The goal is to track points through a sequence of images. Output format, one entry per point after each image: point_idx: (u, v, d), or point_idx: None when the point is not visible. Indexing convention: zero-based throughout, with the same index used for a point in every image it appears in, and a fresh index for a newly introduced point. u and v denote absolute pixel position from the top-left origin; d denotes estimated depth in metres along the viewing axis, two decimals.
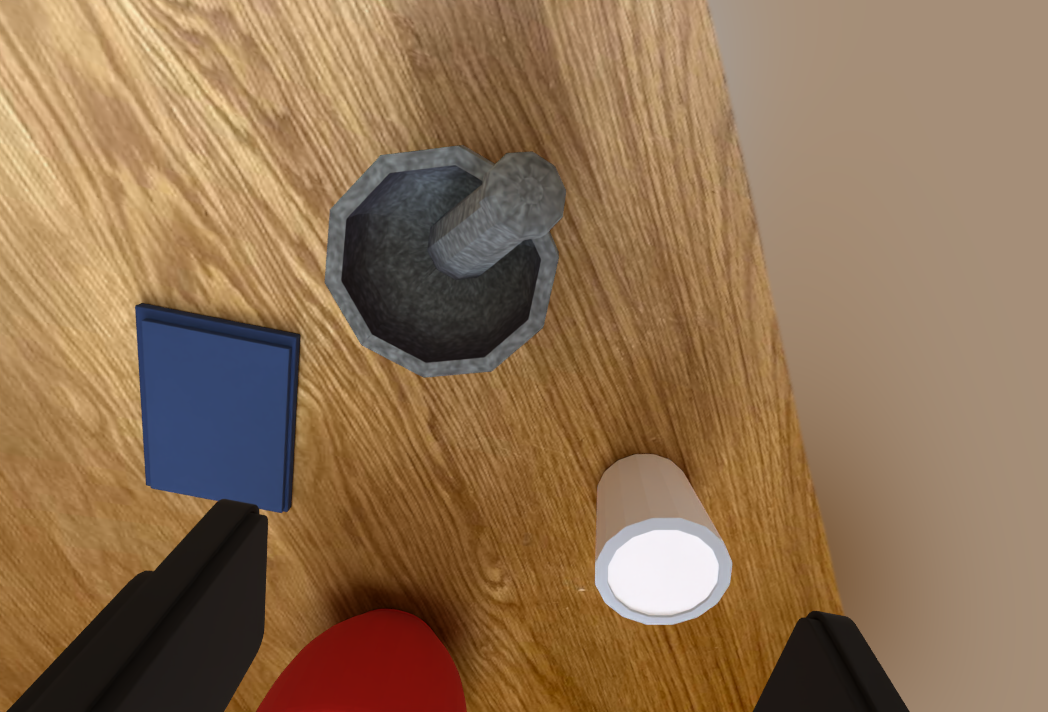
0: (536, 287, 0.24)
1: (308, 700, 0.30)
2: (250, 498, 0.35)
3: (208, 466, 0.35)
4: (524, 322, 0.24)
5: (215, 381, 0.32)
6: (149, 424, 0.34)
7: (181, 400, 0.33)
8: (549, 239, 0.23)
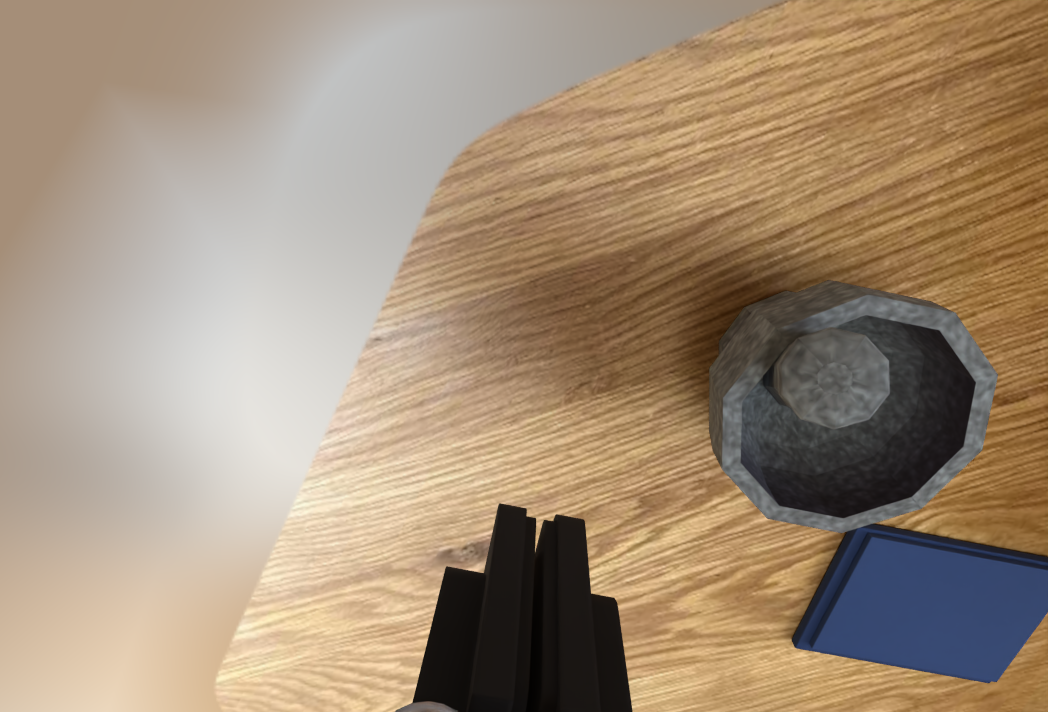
0: (899, 320, 0.19)
1: None
2: (1042, 600, 0.31)
3: (988, 629, 0.32)
4: (941, 334, 0.19)
5: (890, 605, 0.31)
6: (922, 666, 0.33)
7: (903, 636, 0.32)
8: (843, 305, 0.19)
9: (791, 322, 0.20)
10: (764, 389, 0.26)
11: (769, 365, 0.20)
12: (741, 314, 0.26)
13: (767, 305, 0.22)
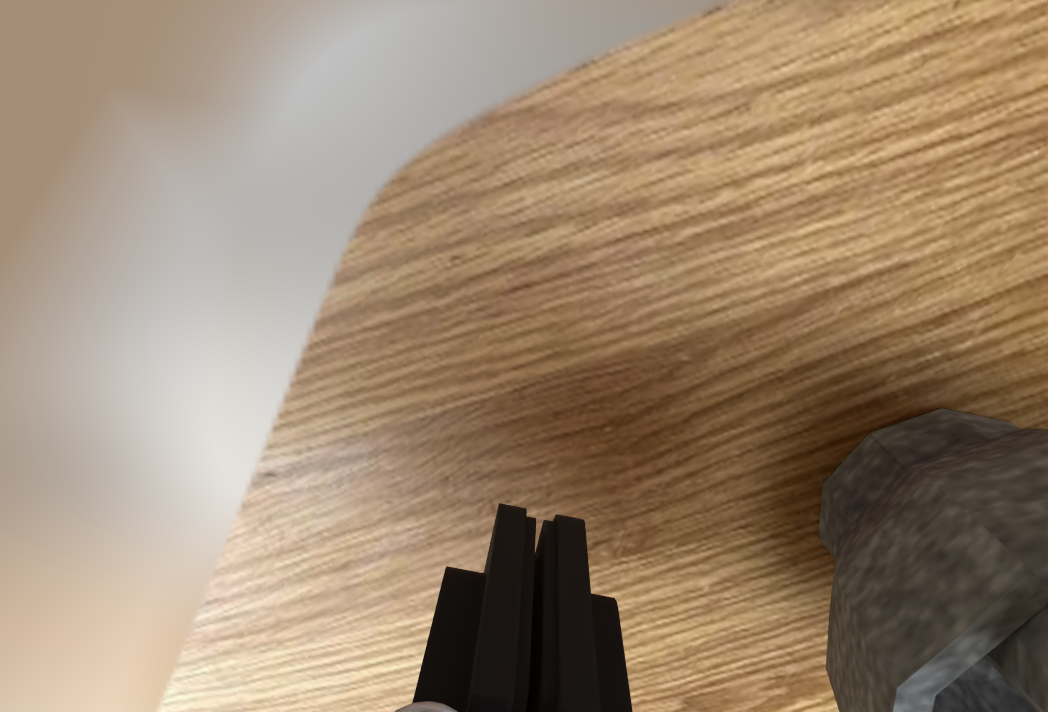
0: None
1: None
2: None
3: None
4: None
5: None
6: None
7: None
8: None
9: None
10: None
11: (1003, 635, 0.10)
12: (865, 445, 0.16)
13: (961, 476, 0.11)
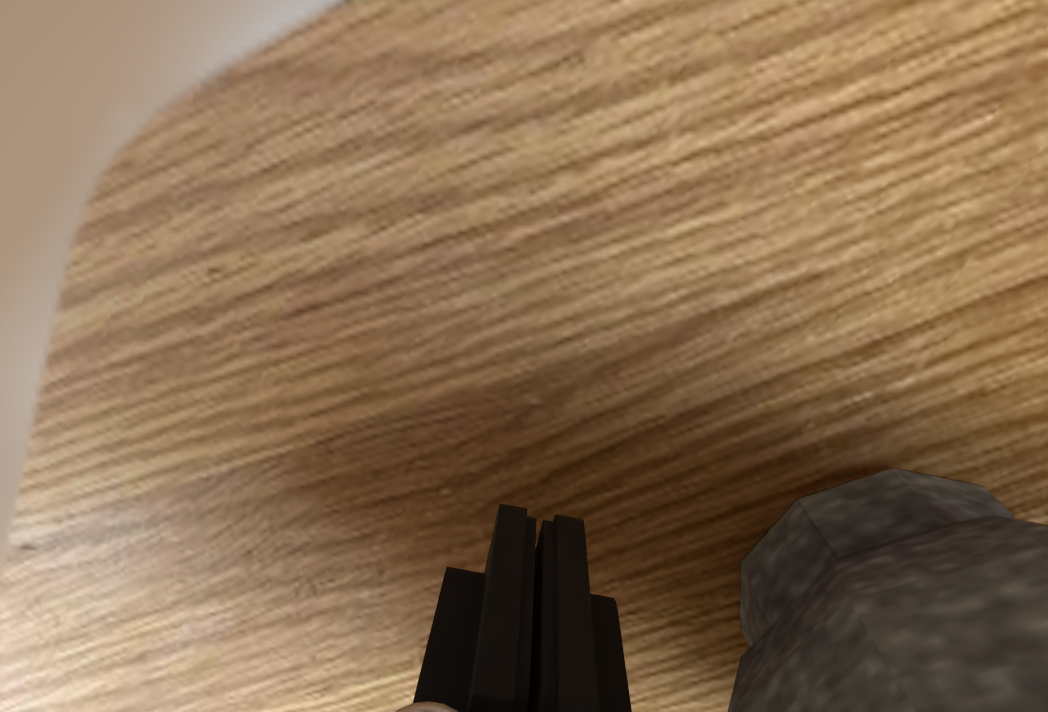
0: None
1: None
2: None
3: None
4: None
5: None
6: None
7: None
8: None
9: None
10: None
11: None
12: (792, 516, 0.12)
13: (893, 601, 0.08)
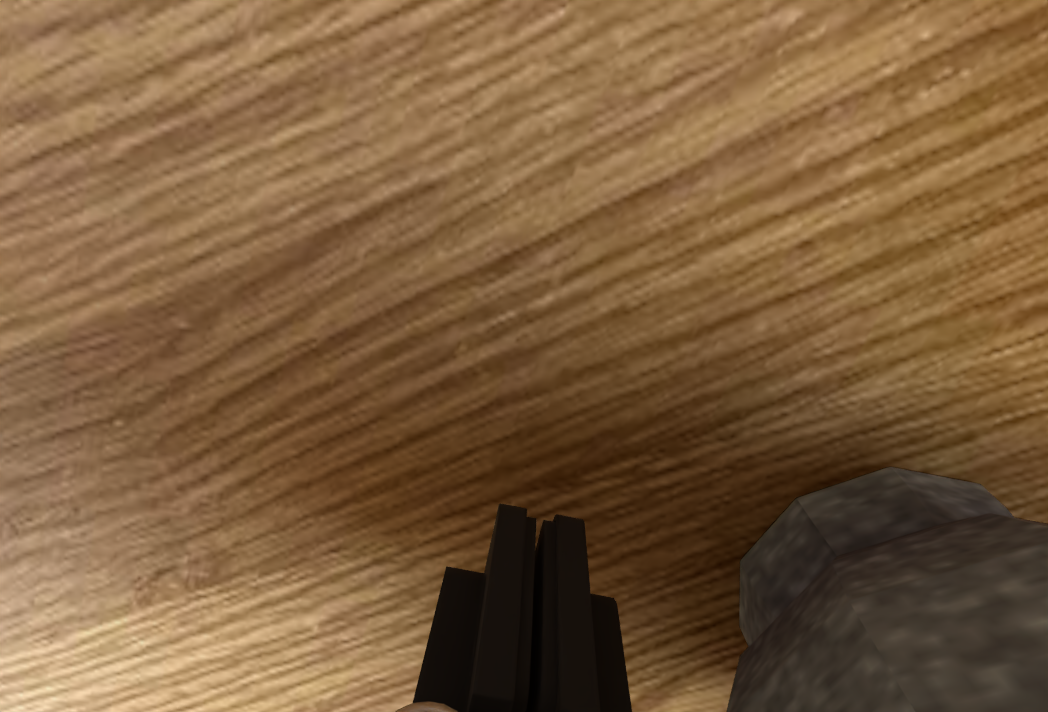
0: None
1: None
2: None
3: None
4: None
5: None
6: None
7: None
8: None
9: None
10: None
11: None
12: (790, 515, 0.12)
13: (891, 600, 0.08)
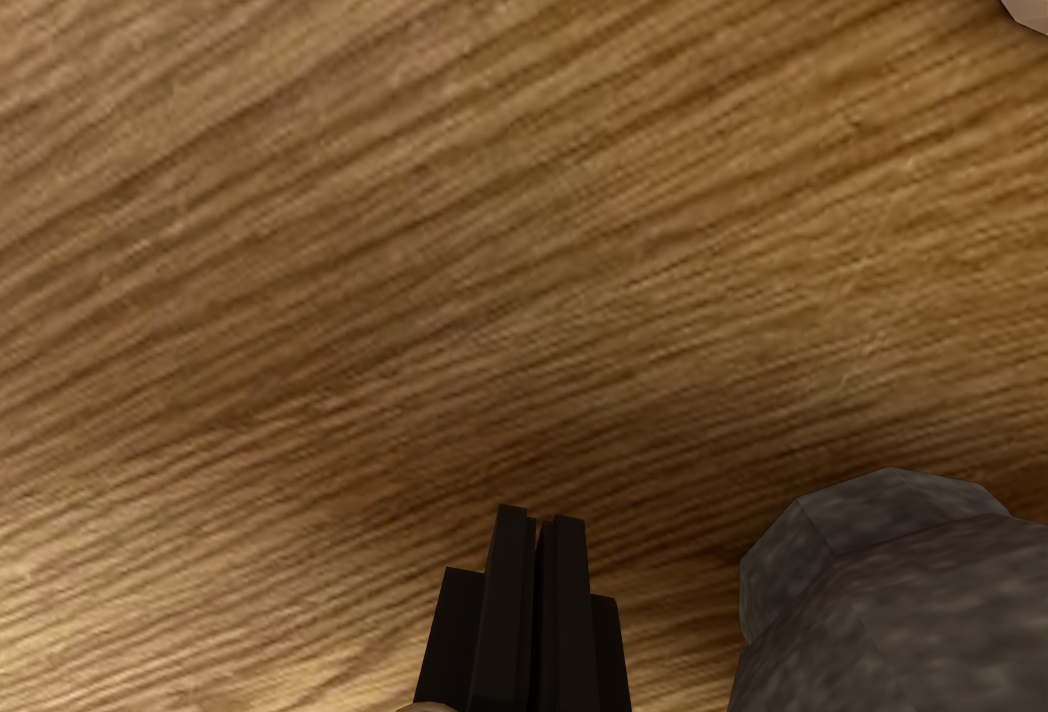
0: None
1: None
2: None
3: None
4: None
5: None
6: None
7: None
8: None
9: None
10: None
11: None
12: (789, 515, 0.12)
13: (890, 599, 0.08)
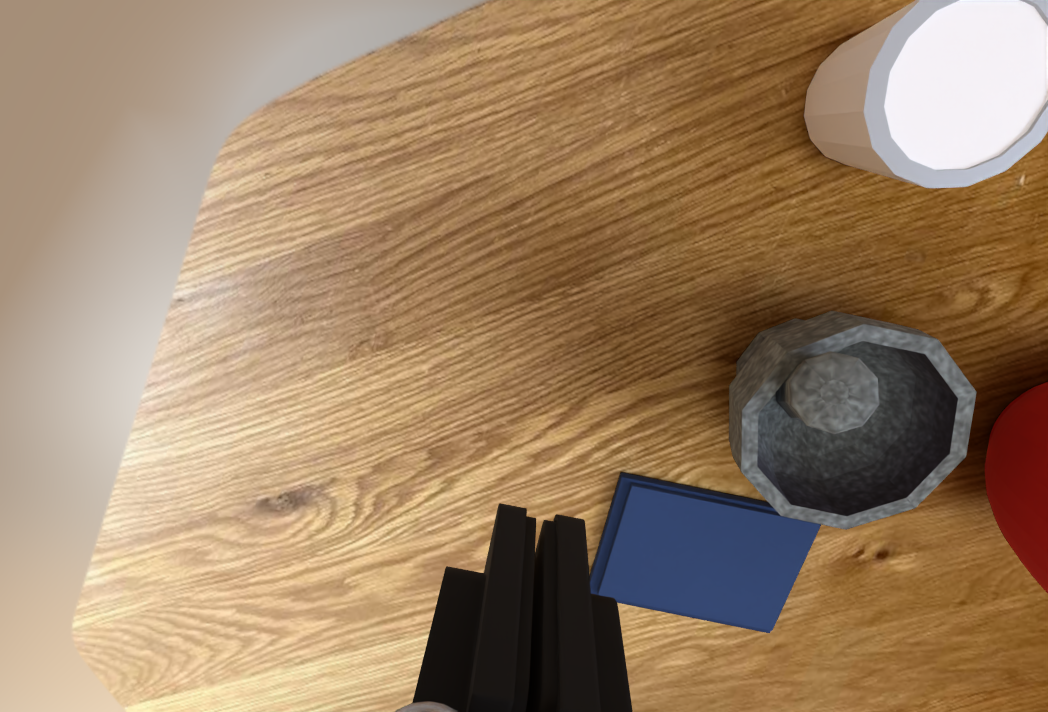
0: (891, 345, 0.23)
1: None
2: (797, 549, 0.34)
3: (753, 578, 0.34)
4: (926, 357, 0.23)
5: (660, 552, 0.34)
6: (701, 614, 0.36)
7: (678, 584, 0.35)
8: (843, 332, 0.23)
9: (799, 346, 0.23)
10: (777, 404, 0.30)
11: (781, 382, 0.24)
12: (756, 338, 0.30)
13: (779, 331, 0.26)
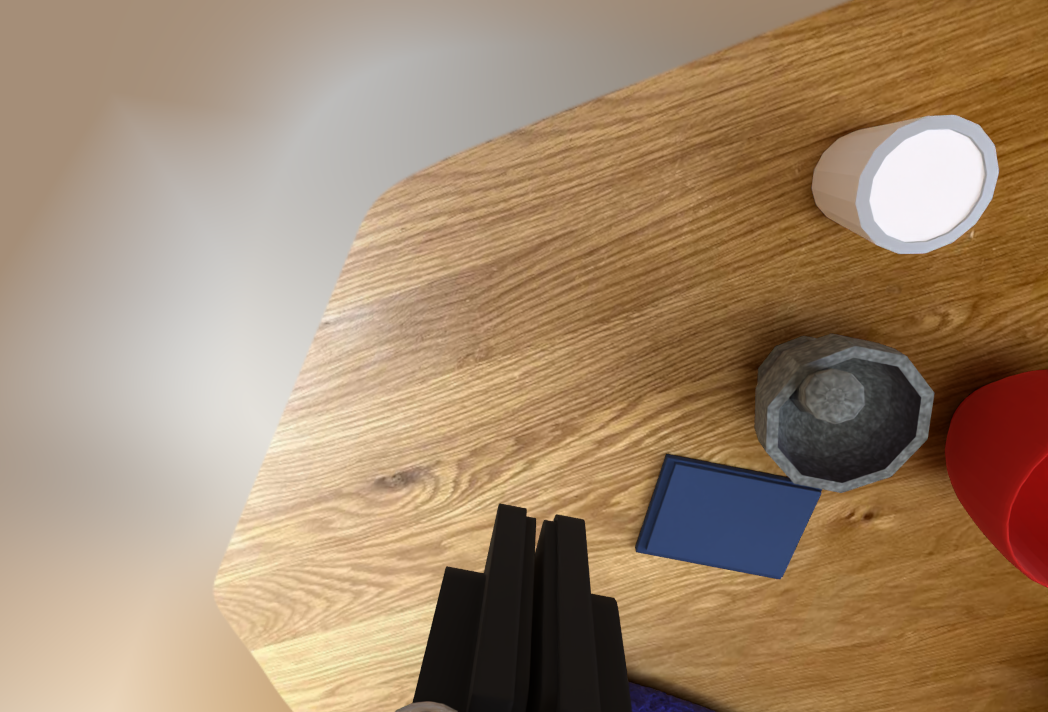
0: (874, 360, 0.32)
1: (994, 516, 0.33)
2: (803, 512, 0.43)
3: (769, 535, 0.44)
4: (899, 368, 0.33)
5: (696, 516, 0.44)
6: (727, 565, 0.45)
7: (709, 541, 0.45)
8: (840, 352, 0.32)
9: (809, 361, 0.33)
10: (789, 401, 0.39)
11: (796, 387, 0.33)
12: (773, 351, 0.39)
13: (793, 349, 0.35)
